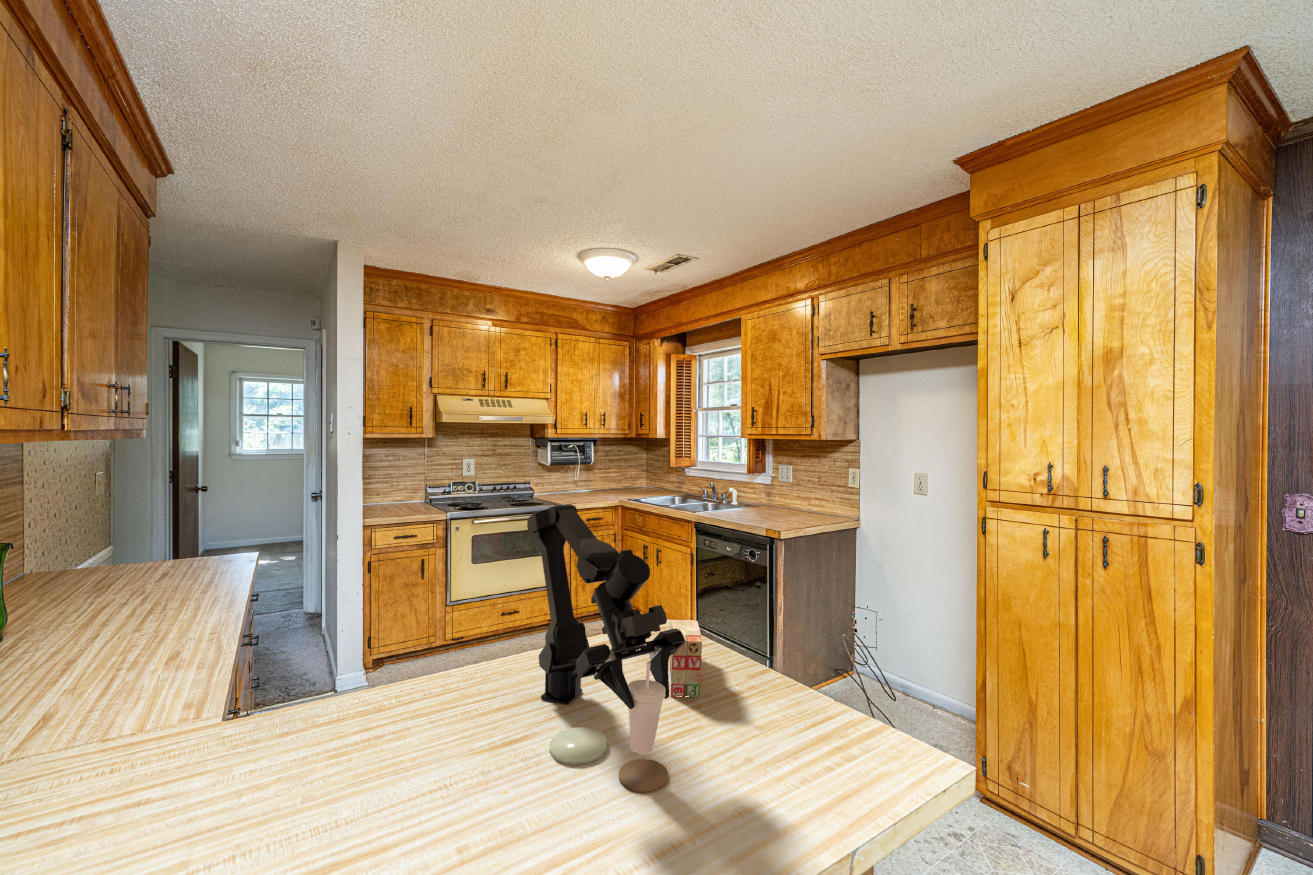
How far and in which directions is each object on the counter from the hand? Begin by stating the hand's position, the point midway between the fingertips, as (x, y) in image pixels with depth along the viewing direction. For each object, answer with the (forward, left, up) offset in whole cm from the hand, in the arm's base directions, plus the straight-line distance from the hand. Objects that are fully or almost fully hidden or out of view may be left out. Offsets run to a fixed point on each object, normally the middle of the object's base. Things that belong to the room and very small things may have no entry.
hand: (650, 702), depth 92 cm
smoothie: (-1, 0, -8) cm, 8 cm away
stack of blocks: (-6, +39, -13) cm, 42 cm away
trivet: (-1, +1, -13) cm, 13 cm away
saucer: (-15, +4, -13) cm, 20 cm away
